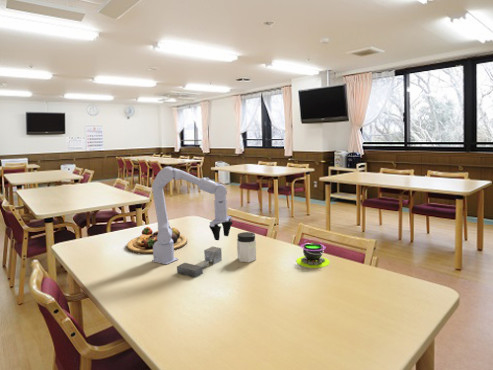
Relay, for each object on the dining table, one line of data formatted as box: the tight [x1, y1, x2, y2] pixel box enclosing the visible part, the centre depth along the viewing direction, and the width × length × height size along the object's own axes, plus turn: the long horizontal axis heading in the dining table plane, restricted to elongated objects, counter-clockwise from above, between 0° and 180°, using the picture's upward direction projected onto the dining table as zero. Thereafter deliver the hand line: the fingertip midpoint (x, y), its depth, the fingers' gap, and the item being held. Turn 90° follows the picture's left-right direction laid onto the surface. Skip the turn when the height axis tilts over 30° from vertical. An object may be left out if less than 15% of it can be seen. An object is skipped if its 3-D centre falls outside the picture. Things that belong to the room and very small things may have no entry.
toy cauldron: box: [295, 238, 331, 269], centre depth 157 cm, size 15×15×11 cm
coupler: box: [176, 259, 209, 278], centre depth 151 cm, size 10×14×3 cm
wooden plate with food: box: [126, 226, 188, 255], centre depth 188 cm, size 32×32×8 cm
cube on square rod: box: [204, 246, 223, 266], centre depth 160 cm, size 5×6×6 cm
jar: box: [236, 231, 257, 263], centre depth 161 cm, size 9×8×12 cm
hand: (221, 237), depth 165 cm, fingers open, 7 cm apart
